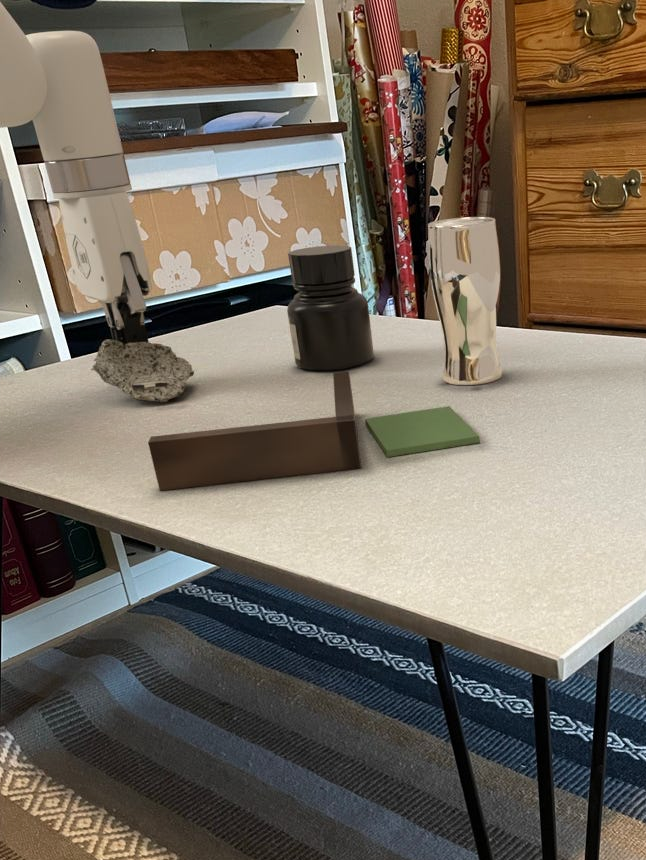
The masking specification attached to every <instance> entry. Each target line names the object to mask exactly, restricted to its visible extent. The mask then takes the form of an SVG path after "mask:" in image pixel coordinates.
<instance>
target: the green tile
mask: <svg viewBox="0 0 646 860" xmlns="http://www.w3.org/2000/svg"><path fill="white" fill-rule="evenodd" d="M364 424H365V426H366V428H367V429H368V430H369V432H370V433H371V435H372V437H373V438H374V440H375V441H376V442H377V444H378V445H379V447H380V448H381V450H382V452H383V453H384V454H385V456H386V457H387V458H391V457H398V456H404V455H409V454H416V453H417V454H418V453H423V452H429V451H436V450H442V449H449V448H454V447H461V446H467V445H473V444H480V443H481V440H480V439H481V438H480V435H479V434H478V433H477V432H476V431H475V430H474V429H473V428H472V427H471V426H470V424H468V423H467V422H466V421H465V420H464V419H463V418H462V417H461V416H460V415H459V414H458V413H457V412H456V411H455V410H454V409H453V408H452V407H451V406H450V405H448V406H447V405H446V406H440V407H434V408H426V409H420V410H414V411H408V412H407V411H406V412H400V413H395V414H394V413H393V414H387V415H380V416H379V415H378V416H373V417H366V418H364Z"/></svg>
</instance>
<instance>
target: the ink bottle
mask: <svg viewBox="0 0 646 860" xmlns="http://www.w3.org/2000/svg"><path fill="white" fill-rule="evenodd" d="M287 256H288V262H289V268H290V269H289V270H290V275H291V282H292V283H293V284H292V287H293V289H294V290H296V291H298V292H297V293H296V294H295V295H293V299H292V300H291V301H290V302H289V303H288V305H287V309H286V311H287V320H288V325H289V332H290V338H291V344H292V350H293V355H294V356H293V358H294V362H295V365H296V366H297V367H299V368H301V369H303V370H311V371H337V370H343V369H350V368H353V367H357V366H360V365H362V364H365V363H368V362H369V361H371V360H372V359H373V358H374V355H375V353H374V352H375V351H374V344H373V335H372V326H371V319H370V311H369V303H368V300H367V298H366V297H365V296H364V295H363V294H362V293H360V292H359V291H358V289H356V288H355V287H352V285H354V284H355V282H356V278H355V273H356V272H355V267H354V260H353V259H354V258H353V251H352V246H348V245H340V244H339V245H320V246H318V245H317V246H312V247H311V246H310V247H305V248H304V247H303V248H299V249H294V250H291V251H289V252H288V253H287Z"/></svg>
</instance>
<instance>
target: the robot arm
mask: <svg viewBox="0 0 646 860" xmlns="http://www.w3.org/2000/svg"><path fill="white" fill-rule="evenodd" d="M31 121H32V123H33V126H34V129H35V130H34V131H35V134H36V137H37V140H38V144H39V148H40V152H41V155H42V159H43V161H44V166H45V169H46V173H47V177H48V181H49V185H50V188H51V192H52V196H53V199H57V200H58V203H59V211H60V217H61V223H62V227H63V233H64V238H65V243H66V247H67V252H68V256H69V260H70V264H71V268H72V269H71V270H72V274H73V277H74V281H75V285H76V289H77V291H78V292H79V293H80V294H81V295H83V296H84V297H86V298H89V299H92V300H96V301H98V303H100V304H101V306H102V309H103V312H104V315H105V319H106V321H107V325H108V327H110V328H109V330H110V335H111V338H112V340H117V341H120V342H122V343H125V344H128V343H130V342H131V343H136V342H148V343H150V341H149V337H148V333H147V330H146V325H145V324H146V322H145V315H144V312H146V311H147V309H148V308H147V304H146V301H145V298H144V297H146V296H149V294H150V293H151V291H152V289H153V284H152V279H151V273H150V268H149V264H148V260H147V256H146V252H145V248H144V244H143V240H142V237H141V234H140V230H139V227H138V223H137V220H136V217H135V214H134V210H133V207H132V205H131V202H130V198H129V196H128V192H129V191H132V190H133V188H132V183H131V179H130V175H129V171H128V167H127V162H126V159H125V154H124V149H123V146H122V141H121V137H120V132H119V128H118V124H117V120H116V116H115V112H114V107H113V102H112V98H111V95H110V89H109V86H108V81H107V78H106V73H105V69H104V64H103V60H102V56H101V53H100V48H99V46H98V44H97V42H96V41H95V39H94V38H93V37H92V36H91V35H90V34H88V33H86V32H84V31H80V30H55V31H43V32H34V33H29V34H25V33H24V31H23V30H22V29H21V27H20V26H19V25H18V23H17V22H16V20H15V19H14V18H13V16H12V15H11V13H9V11H8V10H7V9H6V7H5V6H4V5H3V3H2V2H1V1H0V129H2V128H15V127H18V126H22V125H26V124H27V123H29V122H31ZM121 338H122V339H121Z"/></svg>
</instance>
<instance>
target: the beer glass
mask: <svg viewBox="0 0 646 860" xmlns="http://www.w3.org/2000/svg"><path fill="white" fill-rule="evenodd" d="M496 221H497V220H496V218H495V217H489V216H465V217H454V218H453V217H452V218H445V219H439V220H435V221H431V222H429V223H428V224H427V227H428V228H427V229H428V231H427V233H428V234H427V236H428V237H427V238H428V240H427V241H428V244H427V245H428V246H427V247H428V266H429V267H428V268H429V277H430V283H431V284H430V285H431V290H432V295H433V299H434V304H435V307H436V312H437V316H438V319H439V323H440V328H441V332H442V336H443V337H442V338H443V344H444V362H443V372H442V373H443V374H442V379H443V381H444V382H445V383H447V384H449V385H456V386H476V385H484V384H489V383H492V382H496V381H497V380H500V379H501V377H502V376H503V372H502V366H501V362H500V357H499V353H498V349H497V347H498V346H497V326H498V325H497V323H498V313H499V306H500V305H499V304H500V295H501V280H502V277H501V275H502V274H501V273H502V272H501V257H500V256H501V255H500V246H499V238H498V230H497V223H496Z"/></svg>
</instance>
